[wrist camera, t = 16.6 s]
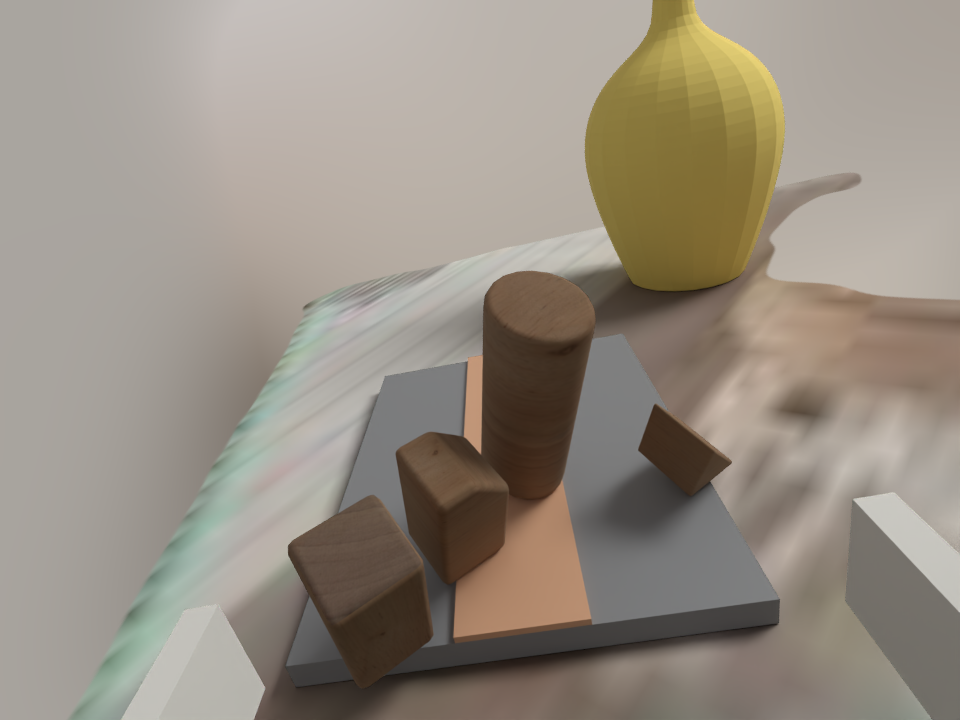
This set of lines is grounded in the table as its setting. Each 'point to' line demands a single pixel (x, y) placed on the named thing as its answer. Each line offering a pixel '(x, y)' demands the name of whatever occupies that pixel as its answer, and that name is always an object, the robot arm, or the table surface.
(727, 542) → the board
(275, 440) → the table surface
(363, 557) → the wooden block set
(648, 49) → the vase
